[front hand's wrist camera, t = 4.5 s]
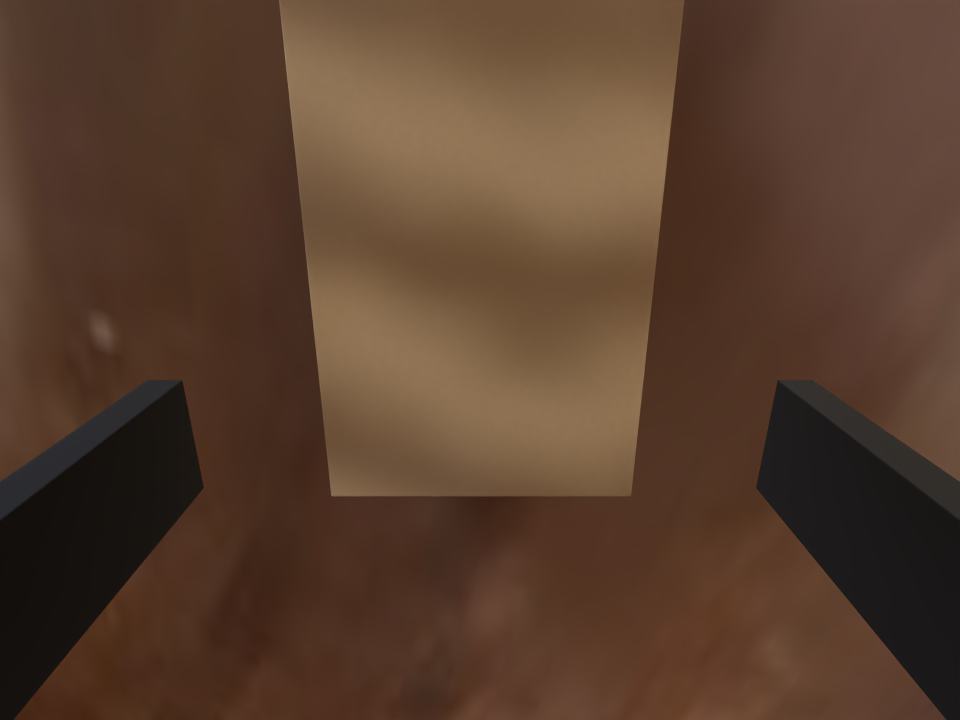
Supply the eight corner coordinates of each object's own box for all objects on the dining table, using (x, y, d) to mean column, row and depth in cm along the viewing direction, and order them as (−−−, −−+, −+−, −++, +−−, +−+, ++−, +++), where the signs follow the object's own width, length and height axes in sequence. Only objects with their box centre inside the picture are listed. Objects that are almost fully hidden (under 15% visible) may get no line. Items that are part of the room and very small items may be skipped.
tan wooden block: (352, 0, 22) (267, -103, 13) (610, 0, 22) (695, -103, 13) (378, 389, 27) (331, 497, 19) (583, 389, 27) (631, 497, 19)
